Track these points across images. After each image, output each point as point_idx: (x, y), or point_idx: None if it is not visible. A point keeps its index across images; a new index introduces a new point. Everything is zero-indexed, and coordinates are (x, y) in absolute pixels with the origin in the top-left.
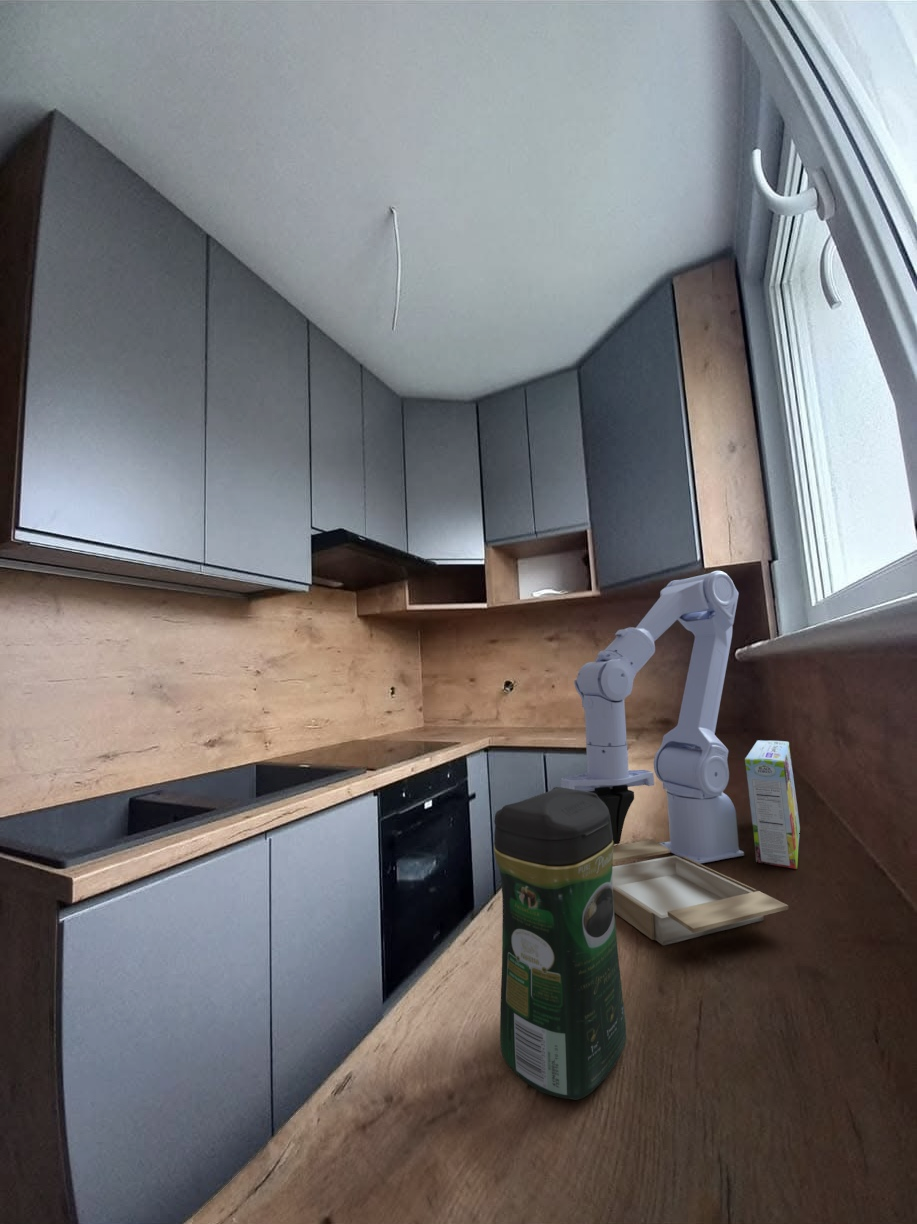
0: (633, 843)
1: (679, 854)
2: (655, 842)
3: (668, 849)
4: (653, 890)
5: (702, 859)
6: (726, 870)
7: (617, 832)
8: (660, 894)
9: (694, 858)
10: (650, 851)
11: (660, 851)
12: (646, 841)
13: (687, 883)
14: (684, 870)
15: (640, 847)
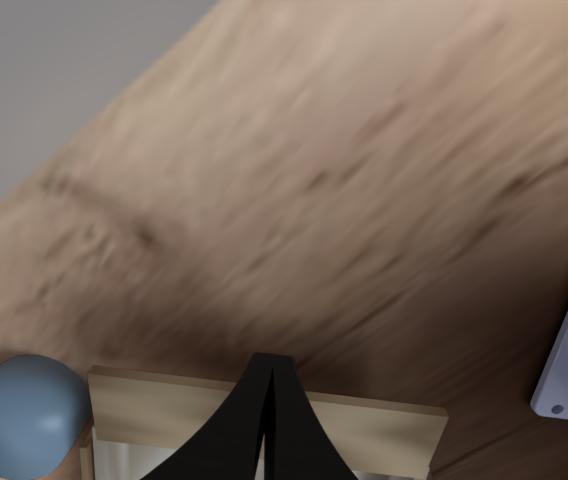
0: (346, 410)
1: (554, 356)
2: (431, 435)
3: (420, 475)
4: (263, 460)
5: (565, 415)
6: (559, 455)
7: (264, 452)
8: (262, 478)
9: (553, 400)
10: (348, 463)
11: (381, 472)
12: (409, 418)
13: (372, 474)
14: (398, 478)
15: (343, 435)
